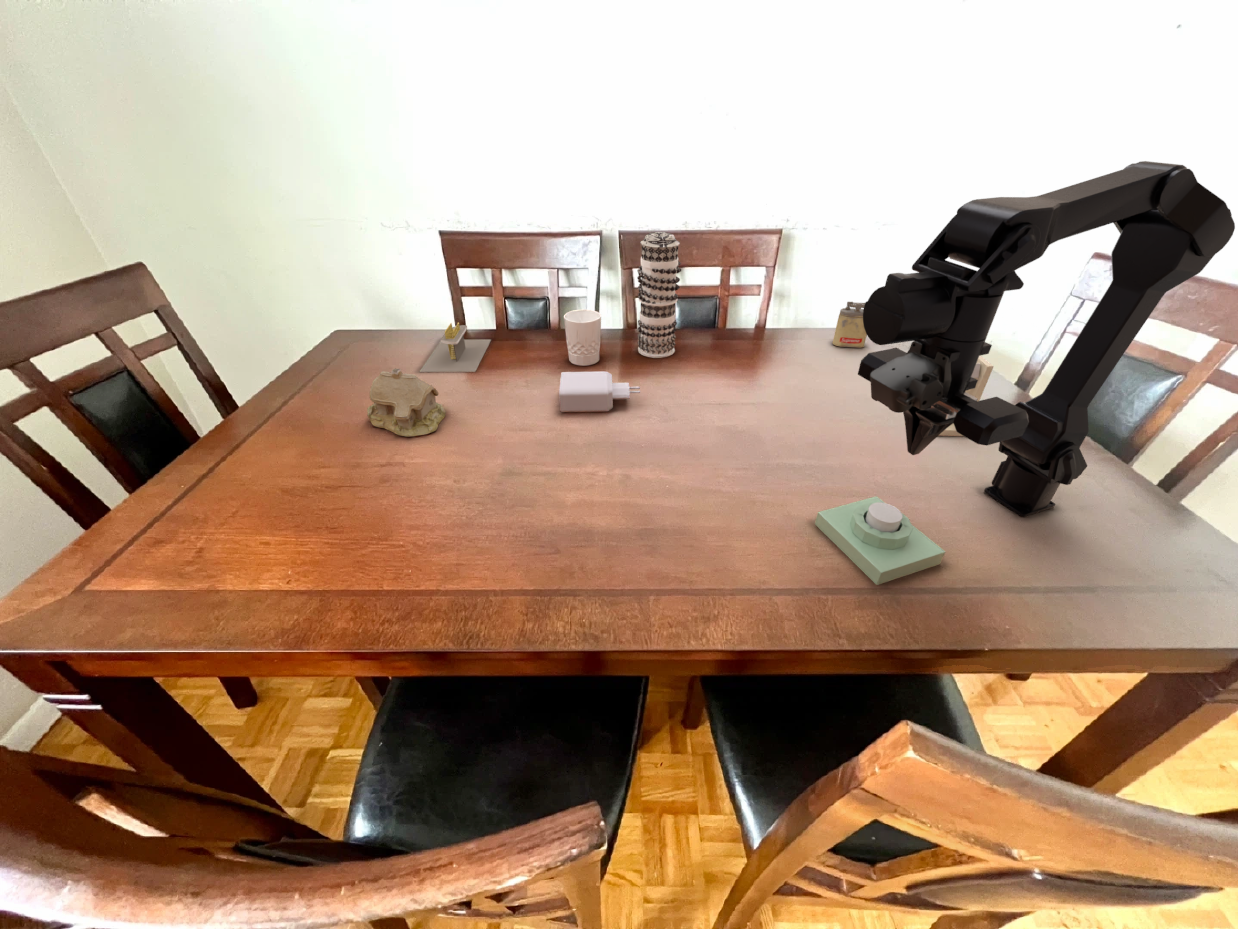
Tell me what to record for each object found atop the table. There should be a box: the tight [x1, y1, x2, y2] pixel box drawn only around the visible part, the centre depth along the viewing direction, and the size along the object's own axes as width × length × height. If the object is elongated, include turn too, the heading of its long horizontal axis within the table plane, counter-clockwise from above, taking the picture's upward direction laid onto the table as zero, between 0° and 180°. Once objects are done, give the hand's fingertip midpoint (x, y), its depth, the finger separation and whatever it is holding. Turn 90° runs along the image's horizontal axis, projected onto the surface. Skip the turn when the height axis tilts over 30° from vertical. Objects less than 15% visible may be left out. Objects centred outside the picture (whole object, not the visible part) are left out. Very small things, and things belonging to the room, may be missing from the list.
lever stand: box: [938, 355, 994, 437], centre depth 94 cm, size 10×8×12 cm
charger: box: [558, 370, 641, 413], centre depth 103 cm, size 5×9×15 cm
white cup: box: [563, 309, 602, 367], centre depth 118 cm, size 8×8×10 cm
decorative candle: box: [637, 231, 682, 359], centre depth 118 cm, size 9×9×25 cm
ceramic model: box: [367, 368, 446, 437], centre depth 96 cm, size 14×11×10 cm
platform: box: [419, 322, 492, 373], centre depth 121 cm, size 12×18×7 cm, turn 0°
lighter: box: [831, 301, 868, 349], centre depth 124 cm, size 7×4×10 cm, turn 81°
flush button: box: [865, 502, 903, 533], centre depth 69 cm, size 4×4×2 cm
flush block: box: [814, 495, 946, 586], centre depth 71 cm, size 12×10×4 cm
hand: (913, 453), depth 67 cm, fingers closed
